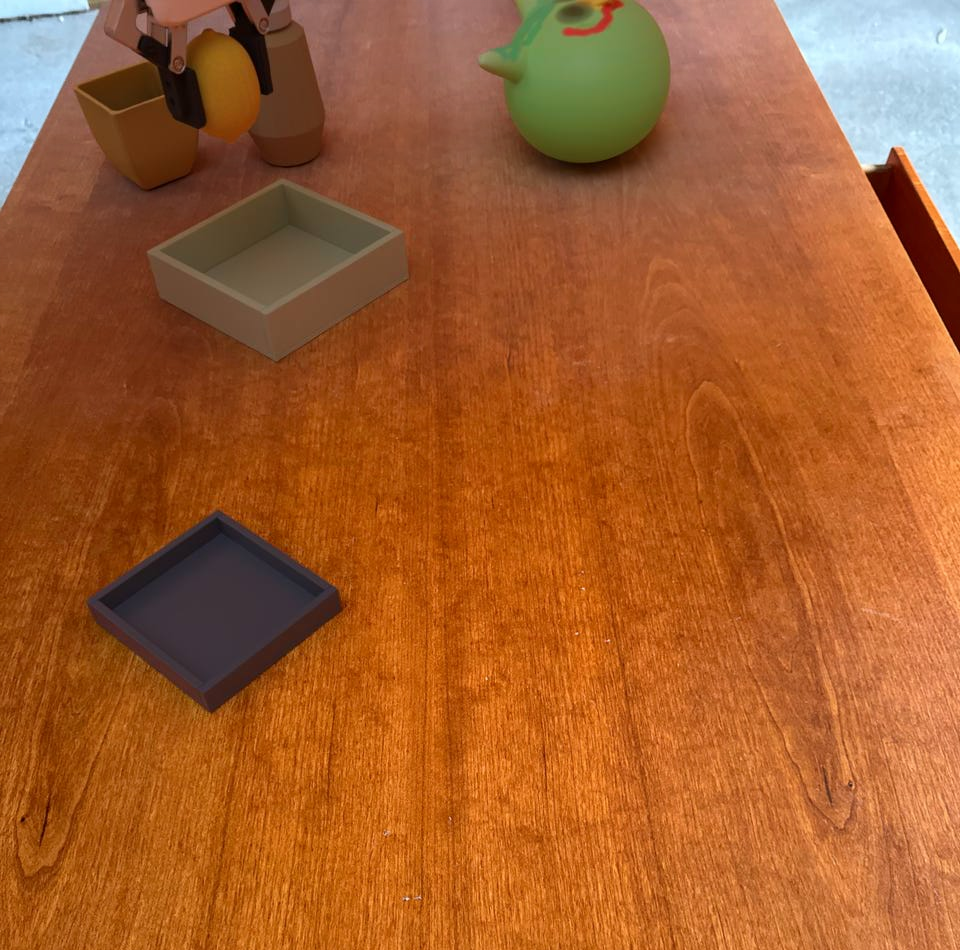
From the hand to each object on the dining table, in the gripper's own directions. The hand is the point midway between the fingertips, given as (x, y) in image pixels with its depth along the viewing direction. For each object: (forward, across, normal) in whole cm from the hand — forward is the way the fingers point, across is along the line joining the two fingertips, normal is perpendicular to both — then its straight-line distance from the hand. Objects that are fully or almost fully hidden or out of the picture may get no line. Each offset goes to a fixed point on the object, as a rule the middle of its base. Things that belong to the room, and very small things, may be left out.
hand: (223, 103), depth 85 cm
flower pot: (+19, -12, -30) cm, 38 cm away
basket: (+19, -5, -4) cm, 20 cm away
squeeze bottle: (+19, -23, -22) cm, 37 cm away
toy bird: (+19, -40, +2) cm, 45 cm away
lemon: (+3, 0, 0) cm, 3 cm away
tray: (+19, +24, +21) cm, 38 cm away
